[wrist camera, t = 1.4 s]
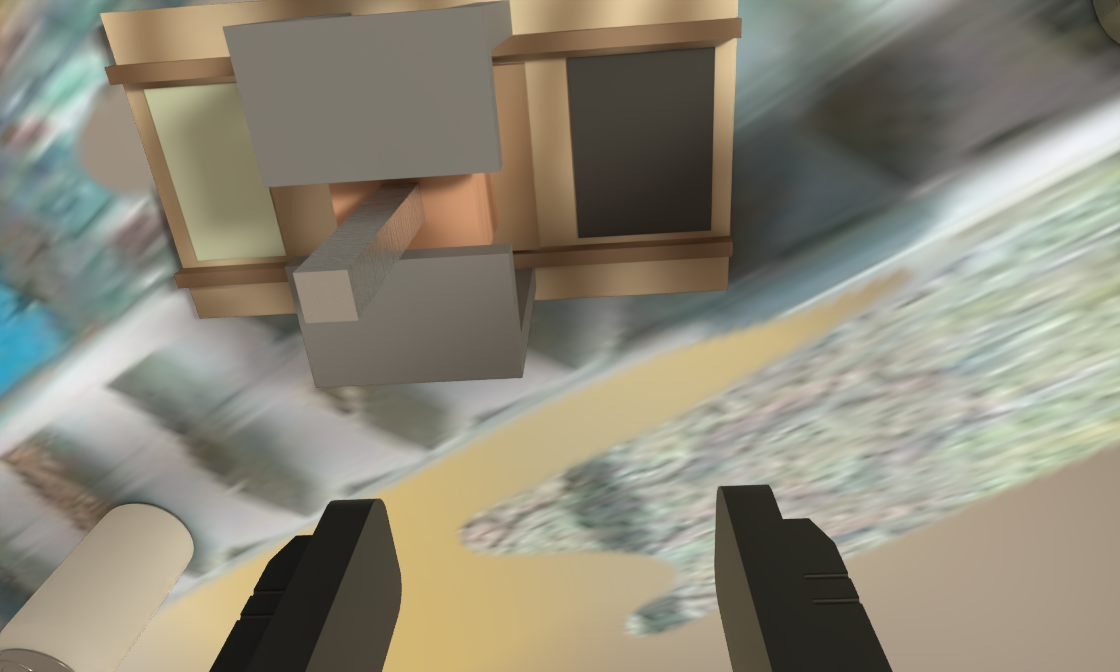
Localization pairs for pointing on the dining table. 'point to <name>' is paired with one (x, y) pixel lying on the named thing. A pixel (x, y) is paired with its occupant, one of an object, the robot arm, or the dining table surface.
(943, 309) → the dining table surface
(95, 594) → the can
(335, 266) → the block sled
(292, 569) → the robot arm
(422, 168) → the tunnel track
